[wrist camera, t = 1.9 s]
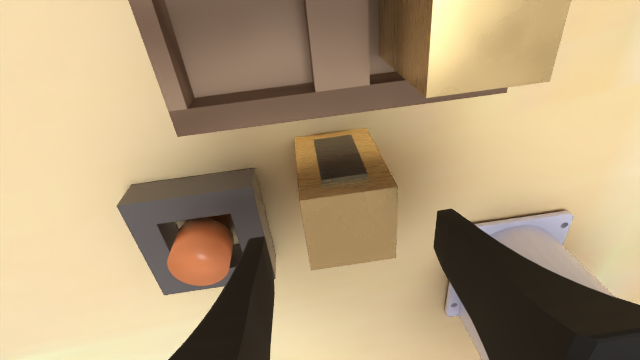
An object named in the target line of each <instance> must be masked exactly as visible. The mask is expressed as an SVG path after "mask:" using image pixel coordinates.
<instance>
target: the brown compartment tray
mask: <svg viewBox="0 0 640 360" xmlns="http://www.w3.org/2000/svg"><path fill="white" fill-rule="evenodd" d="M129 3H130V6H131V9H132V11H133V14H134V17H135V20H136V22H137V25H138V28H139V31H140V34H141V36H142V39H143V42H144V45H145V47H146V50H147V53H148V56H149V59H150V61H151V64H152V67H153V70H154V72H155V75H156V78H157V81H158V83H159V86H160V89H161V92H162V95H163V97H164V100H165V103H166V106H167V108H168V111H169V114H170V117H171V120H172V122H173V125H174V128H175V131H176V133H177V136H178V137H180V136H187V135H194V134H202V133H209V132H217V131H224V130H232V129H239V128H247V127H254V126H261V125H269V124H276V123H284V122H291V121H299V120H306V119H313V118H321V117H328V116H336V115H343V114H351V113H358V112H366V111H373V110H380V109H388V108H395V107H403V106H410V105H418V104H425V103H433V102H440V101H447V100H455V99H462V98H470V97H477V96H485V95H492V94H500V93H507V88H508V87H505V88H498V89H490V90H483V91H475V92H468V93H460V94H453V95H446V96H438V97H431V98H426V97H424V96H423V95H422V94H421V93H420V92H419V91H418V90H417V89H415V88H414V87H413V86H412V85H411V84H410V83H409V82H408V81H406V80H405V79H404V78H403V77H402V76H401V75H400V74H399V73H397V72H396V71H395V70H394V69H393V68H392V67H391V66H390V65H388V64H387V63H386V62H385V61H384V60H383V59H382V58H381V57H380V56H379V0H129Z"/></svg>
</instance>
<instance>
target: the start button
mask: <svg viewBox="0 0 640 360" xmlns="http://www.w3.org/2000/svg"><path fill="white" fill-rule="evenodd" d="M233 244H234V238H233V235H232V233H231V231H230V230H229V229H228V228H227V227H226V226H225V225H224V224H222V223H220V222H218V221H215V220H212V219H194V220H191V221H189V222H187V223H185V224H184V225H183V226H182V227H181V228H180V229H179V231H178V233H177V236H176V238H175V241H174V244H173V246H172V249H171V251H170V254H169V256H168V260H167V266H168V269H169V271H170V273H171V274H172V275H173V276H174V277H175V278H177V279H178V280H180V281H182V282H184V283H186V284H190V285H195V286H207V285H212V284H215V283H217V282H219V281H221V280H222V279H223V278H224V277H225V276H226V275H227V273H228V271H229V267H230V261H231V256H232V250H233Z"/></svg>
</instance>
